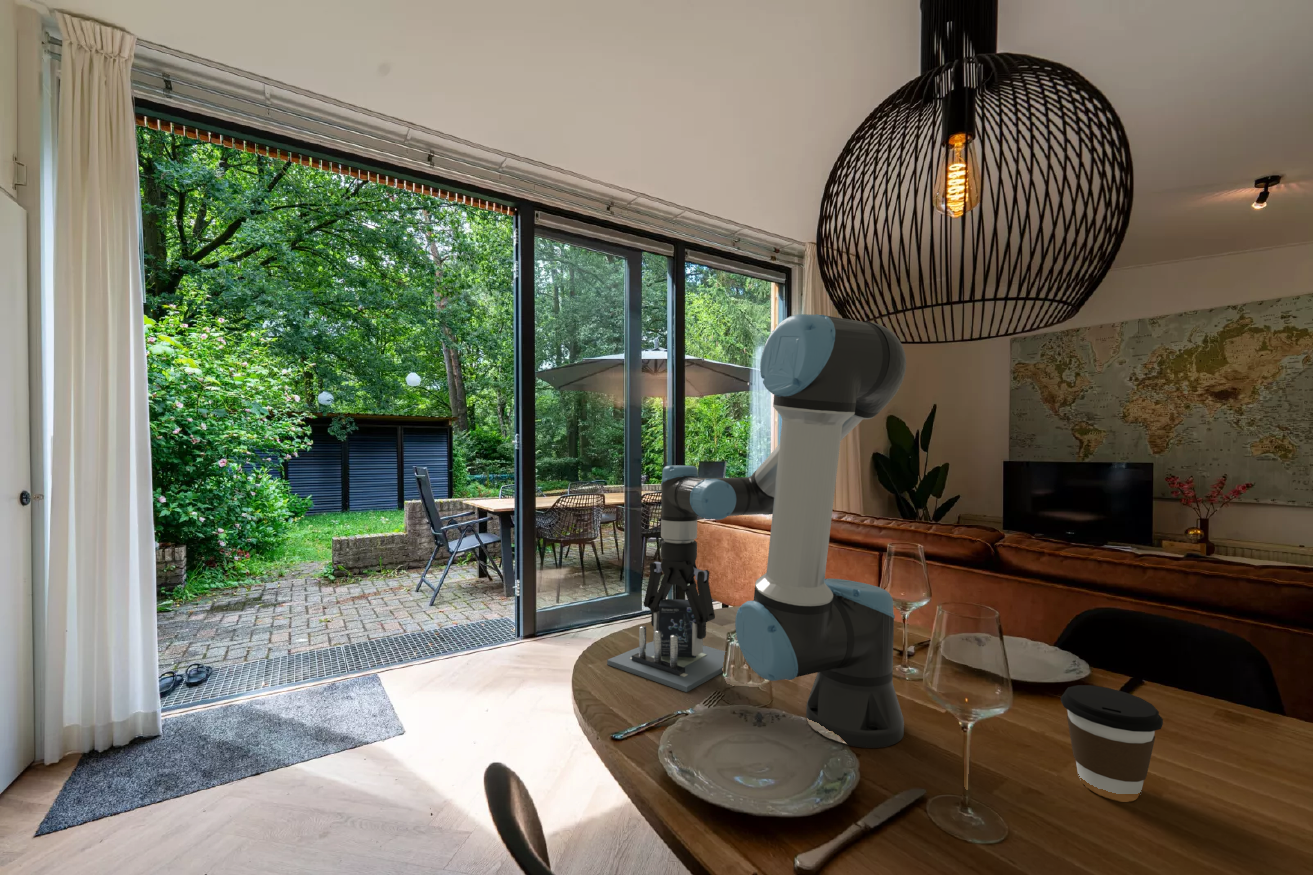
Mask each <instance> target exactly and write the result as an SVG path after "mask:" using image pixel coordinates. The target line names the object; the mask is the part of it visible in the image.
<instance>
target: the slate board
mask: <svg viewBox="0 0 1313 875" xmlns="http://www.w3.org/2000/svg"><path fill="white" fill-rule="evenodd" d="M725 652H726V651H725V650H722V649H718V648H714V647H710V646H706V645H704V644H703V652H702V653H700V654H698V655H696V658H691V657H677V665H678V666H681V667H684V668H685V673H683V674H681V675H680V676H677V675H674V674H671V673H668V672H665V671H662V670H659V669H656V668H653V667H650V666H647V665H644V664H641V663H638V662H635V661H632V655H634V654H637V653H639V646H637V647H635V648H632V649H630V650H627V651H625V652H623V653H620V654H618V655H616V656H613V657H611V658H608V659H607V662H606V665H607V666H609V667H613V668H616V669H618V670H621V671H624V672H627V673H630V674H633V675H634V676H635V675H636V676H639V677H641V678H645V679H647V680H650V681H654V682H656V683H659V684H662V685H665V686H667V687H671V688H673V689H676V690H679V691H682V692H685V693H688V692H690V691H691V690H693V689H695V688H697V687H699V686H700V685H702V684H704V683H706V682H708V681H710V680H711V679H713V678H715V677H717V676H718V675H721V674H722V673H723V672H722V668H723V662H724V655H725ZM646 656H650V657H653V658H654V644H653V640H652V641H650V642H646ZM661 660H662V661H665V662H668V663H670V657H667V656H663V657H661Z"/></svg>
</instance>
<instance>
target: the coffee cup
mask: <svg viewBox="0 0 1313 875" xmlns="http://www.w3.org/2000/svg"><path fill="white" fill-rule="evenodd" d="M1060 702H1061V704H1062V706H1063V708H1065V709H1066V711H1067V715H1066V716H1067V717H1066V719H1067V724H1068V729H1069V730H1068V732H1069V739H1070V742H1071V749H1072V754H1073V758H1074V760H1075V763H1076V770H1077V775H1078V774H1079V775H1078V777H1079V776H1080V777H1079V779H1080V778H1082V779H1083V780H1085V781H1086V782H1087V783H1089V784H1090V785H1093V786H1094V787H1097V788H1098V789H1103V790H1106V791H1108V792H1112V793H1116V794H1138V793H1140V792H1141V793H1142V791H1141V790H1142V789H1143V785H1144V781H1145V780H1146V778H1147V776H1148V771H1149V767H1150V763H1151V759H1152V753H1153V749H1154V744H1155V739H1156V736H1155V732H1156V731H1159V730H1161V729H1162V727H1163V725H1164V719H1163V718H1162V716H1161V715H1160V711H1159V710H1158V709H1157V708H1156V707H1155V706H1154V705H1153V704H1152V703H1150V702H1148V701H1147V700H1145V699H1143V698H1141V697H1139V696H1138V695H1137V696H1136V695H1133V694H1131V693H1128V692H1125V691H1122V690H1119V689H1118V690H1117V689H1115V688H1110V687H1106V686H1105V687H1104V686H1098V685H1089V684H1088V685H1087V684H1086V685H1083V684H1080V685H1079V684H1077V685H1072V686H1068V687H1067V688H1066V689H1065V691H1064V692H1063V693H1062V695H1061V696H1060Z"/></svg>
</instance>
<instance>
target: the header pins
mask: <svg viewBox="0 0 1313 875" xmlns="http://www.w3.org/2000/svg"><path fill="white" fill-rule="evenodd" d="M638 628H639V631H638V633H639V635H638V637H639V640H638V647H639V653H637V654H634V655H632V661H635V662H638V663H641V664H644V665H647V666H650V667H653V668H656V669H659V670H662V671H665V672H668V673H671V674H674V675H677V676H680V675H681V674H683V673H685V668H684V667H681V666H678V665H677V656H678V635H671V644H670V663H668V662H665V661H662V660H661V646H662V631H660V630H656V631H655V644H654V658H653V657H650V656H646V644H647V626H645V625H640V626H639V627H638Z"/></svg>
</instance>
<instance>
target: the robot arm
mask: <svg viewBox="0 0 1313 875" xmlns="http://www.w3.org/2000/svg"><path fill="white" fill-rule="evenodd" d="M759 365H760V366H759V368H760V369H759V370H760V372H759V374H760V377H761V379H763V380H762V383H763V386H764V387H765V389H766V390H767V391H768V392H770V393H771V394H772V395H773V403H772V404H773V405H772V407H773V409H775V411H777V413H778V414H779V415H780V417H781V429H780V437H779V444H778V445H777V446H776V447H775V448H774V450H772V452H771V453H770V454H769V455H768V456H767V458H765V459H764V461H763V462H762V463H761V464H760V465H759V467H758V468H757V469H756V470H755V471H754V472H753V473H752V474H751V475H750V476H746V477H745V476H744V477H742V476H740V477H700V476H699V470H698V468H697V466H695V465H683V464H682V465H681V464H679V465H678V464H677V465H676V464H675V465H674V464H673V465H666V466H664V467H663V469H662V475H661V476H662V477H661V483H660V486H661V521H660V524H661V525H660V537H661V538H662V540H661V541H660V557H661V561H659V560H657V561H654V562H650V563H649V578H648V582H647V587H646V590H645V596H644V600H643V606H644V608H648V609H649V610H650V612H651V614H650V615H651V619H650V621H651V622H650V625H651V627H653V638H652V639H653V640H652V641H653V644H655V631H656V630H659V605H660V600H661V599H667V597H668V596H669V594H670V591H671V589H672V586H673V585H676V586H678V587H681V589H682V591H683V592H684V594H685V596H686V598H687V599H686V600H688V601H689V604H690V607H691V609H692V612H693V615H694V617H695V620H696V621H695V622H693V623H692V655H693V656H696V655H698V654H700V653H702V652H703V645H704V643H703V641H704V639H705V638H706V636H707V623H708V622H710V621H713V620H715V618H716V614H715V610H714V604H713V598H712V594H711V587H710V583H709V581H710V580H709V579H710V571H709V570H708V569H704V570H702V569H699V568H698V567H697V565H696V560H697V558H698V542H697V541H696V539H697V538H698V517H700V518H702V519H703V518H704V519H706V520H709V521H711V520H717V521H720V520H724V519H725V518H727V517H737V516H738V517H739V516H750V515H751V516H752V515H753V516H755V515H757V516H758V515H764V516H765V515H766V516H767V515H768V516H769V515H772V516H771V528H770V536H769V546H768V552H767V553H768V556H767V565H766V572H765V573H764V574H763V575H761V576H760V577H758V578H757V579H756V581H755V583H754V584H755V585H754V592H753V600H746V601H745V602H744V603H742V604H741V605H740V607H738V609H737V611H736V615H735V634H736V639H737V643H738V645H739V649H740V651H741V654H742V656H743V657H744V659H745V661H746V663H747V665H748V666H749V667H750V669H751V670H752V671H753V672H755V674H757V676H759V677H760V678H762V679H763V680H767V681H770V682H772V681H773V682H774V681H782V680H787V681H792V680H795V679H796V678H799V677H803V676H808V675H813V674H816V676H815V679H814V682H813V684H812V688H811V690H810V693H809V696H808V698H807V702H806V705H805V706H806V708H805V710H806V713H805V717H807V718H808V719H809V720H812V721H814V722H817V723H819V724H820V725H821V726H824V727H825V728H826V729H828V730H829V731H833V732H834V733H835V734H837V735H839V736H840V737H841V738H842V739H843V740H844V741H845V742H846V743H847V744H848V745H847V746H850V747H856V748H866V749H867V748H868V749H877V748H878V749H879V748H885V747H891V746H893V745H896V744H897V743H899V742H900V741H901V740H902V739H903V738H904V734H905V731H904V730H905V720H904V719H905V718H904V715H903V712H902V709H901V705H900V703H899V699H898V696H897V693H896V690H895V687H894V683H893V677H894V676H893V668H894V667H893V666H894V637H895V636H894V635H895V634H894V632H895V631H894V630H895V618H896V617H895V614H894V612H895V611H894V600H893V597H892V595H891V593H890V592H889V591H887V590H886V589H884V588H883V587H879V586H875V585H874V584H873V585H872V584H869V583H865V582H860V581H856V580H855V581H854V580H849V579H843V578H842V579H841V578H826V571H827V570H826V569H827V563H828V562H827V560H828V554H829V552H828V551H829V545H830V535H831V534H830V533H831V526H832V520H833V518H832V517H833V510H834V509H833V508H834V500H835V493H836V492H835V491H836V484H837V474H838V467H839V466H838V465H839V458H840V449H841V441H842V440H843V439H844V438H845V437H847V436H848V434H849V433H851V431H853V430H854V428H856V427H857V425H859V424H860V423H861V422H862V421H863V420H870V419H873V418H875V417H876V416H877V415H878V414H879V413H880V412H881V411H882V410H883V409H885V407H887V405H888V404H889V403H890V402H891V401H892V399H893V398H894V397H895V395H897V393H898V391H899V389H900V387H901V385H902V384H903V382H904V379H905V376H906V369H907V356H906V352H905V349H904V346H903V344H902V342H901V341H900V338H898V337H897V335H896V334H895V333H894V332H893V331H891V330H890V329H889V328H887V327H885V326H883V325H882V324H879V323H877V322H871V321H859V320H854V319H848V318H842V317H836V316H832V315H825V314H801V313H799V314H794V315H793V314H792V315H790V316H788V317H786V318H785V319H783V320H782V321H780V322H779V323H778V324H777V325H776V327H775V329H774V330H772V331H771V332H770V333H769V336H768V338H767V339H766V342H765V343H764V345H763V349H762V352H761V356H760V363H759ZM662 572H663V577H662V579H661V576H662Z"/></svg>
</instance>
